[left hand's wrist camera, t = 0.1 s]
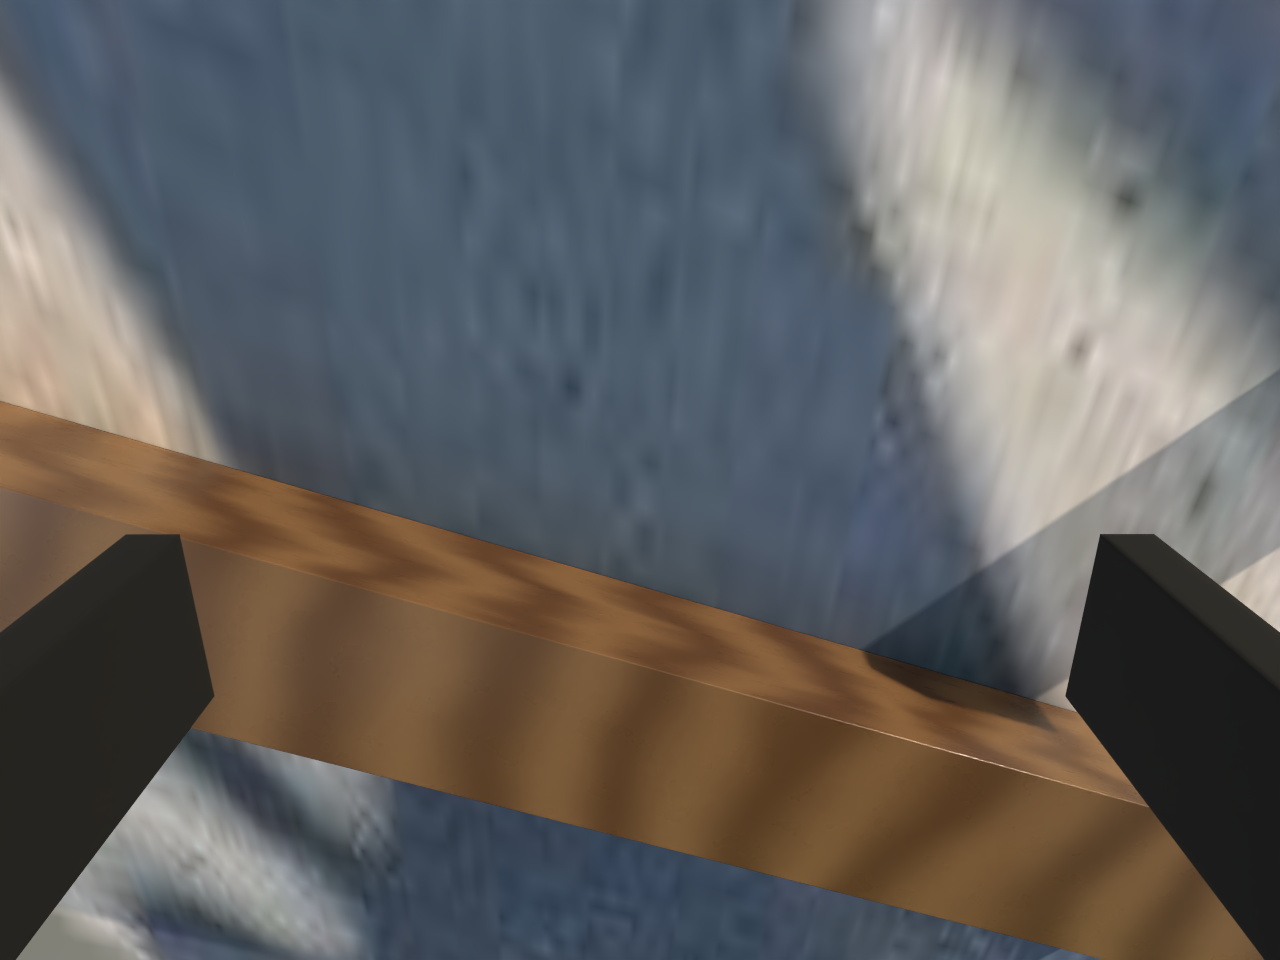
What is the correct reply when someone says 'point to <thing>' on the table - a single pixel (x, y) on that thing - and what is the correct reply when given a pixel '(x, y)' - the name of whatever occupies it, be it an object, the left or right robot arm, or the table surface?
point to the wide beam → (617, 704)
